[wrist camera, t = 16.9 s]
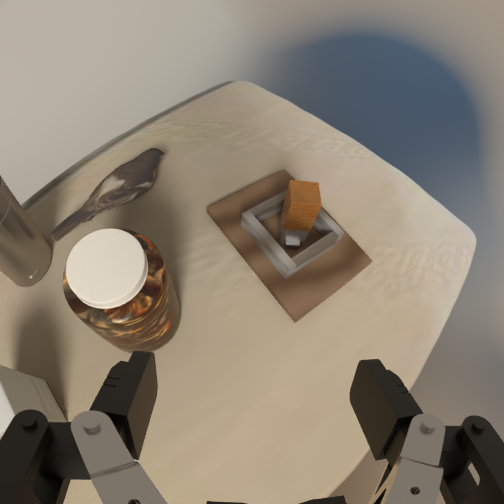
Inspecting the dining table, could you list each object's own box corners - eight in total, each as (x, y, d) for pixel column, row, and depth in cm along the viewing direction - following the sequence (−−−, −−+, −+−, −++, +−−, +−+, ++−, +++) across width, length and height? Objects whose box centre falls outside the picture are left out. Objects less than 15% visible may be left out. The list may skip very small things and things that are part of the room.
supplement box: (13, 400, 32) (-42, 386, 21) (45, 378, 34) (-7, 359, 23) (35, 444, 29) (-19, 445, 18) (69, 424, 32) (18, 421, 21)
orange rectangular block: (303, 250, 47) (321, 210, 38) (278, 248, 47) (291, 207, 38) (302, 221, 49) (317, 179, 41) (278, 219, 49) (289, 175, 40)
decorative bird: (180, 169, 54) (178, 148, 50) (75, 267, 43) (62, 251, 39) (156, 155, 55) (153, 135, 51) (55, 245, 44) (42, 228, 40)
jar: (157, 261, 45) (135, 196, 32) (196, 329, 41) (183, 284, 28) (88, 297, 41) (41, 245, 28) (120, 369, 37) (71, 343, 24)
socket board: (206, 211, 50) (206, 195, 46) (283, 173, 56) (287, 157, 52) (294, 322, 42) (301, 313, 39) (369, 263, 48) (380, 251, 44)
